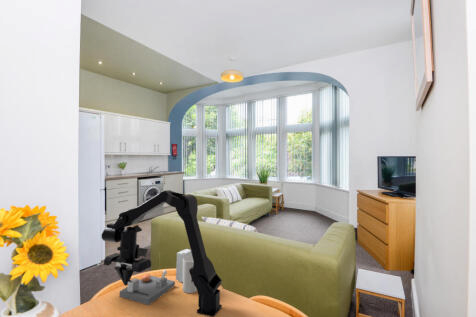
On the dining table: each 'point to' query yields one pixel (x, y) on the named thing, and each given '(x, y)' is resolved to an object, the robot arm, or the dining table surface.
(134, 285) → the block
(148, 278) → the push button
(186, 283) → the mug
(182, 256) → the skincare box
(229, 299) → the dining table surface
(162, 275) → the toggle lever
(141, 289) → the control panel
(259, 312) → the dining table surface
